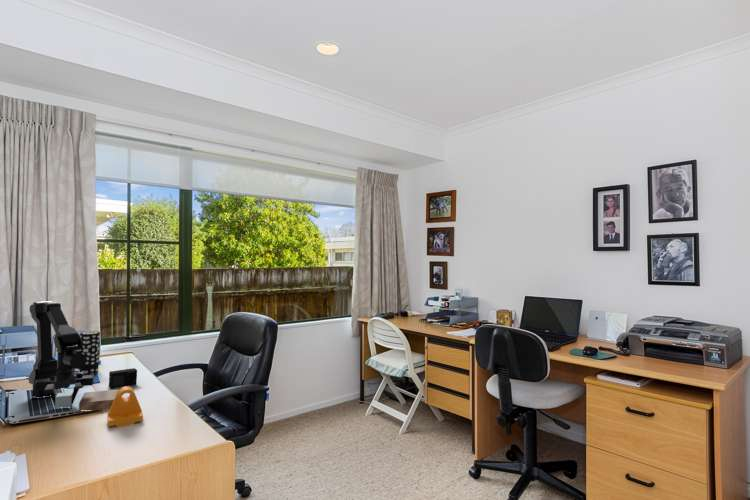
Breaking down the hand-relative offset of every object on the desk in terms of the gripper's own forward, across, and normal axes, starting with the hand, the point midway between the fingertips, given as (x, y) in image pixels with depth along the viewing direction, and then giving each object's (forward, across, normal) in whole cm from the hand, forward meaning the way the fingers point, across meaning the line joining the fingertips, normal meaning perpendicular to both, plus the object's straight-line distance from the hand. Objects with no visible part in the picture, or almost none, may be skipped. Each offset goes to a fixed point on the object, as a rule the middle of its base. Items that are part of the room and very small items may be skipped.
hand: (64, 404), depth 165 cm
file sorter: (+1, -7, +75) cm, 76 cm away
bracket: (+1, +22, -25) cm, 33 cm away
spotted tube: (+1, +2, +50) cm, 50 cm away
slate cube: (+1, 0, 0) cm, 1 cm away
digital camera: (+1, +19, +21) cm, 28 cm away
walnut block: (+2, +12, -2) cm, 13 cm away
